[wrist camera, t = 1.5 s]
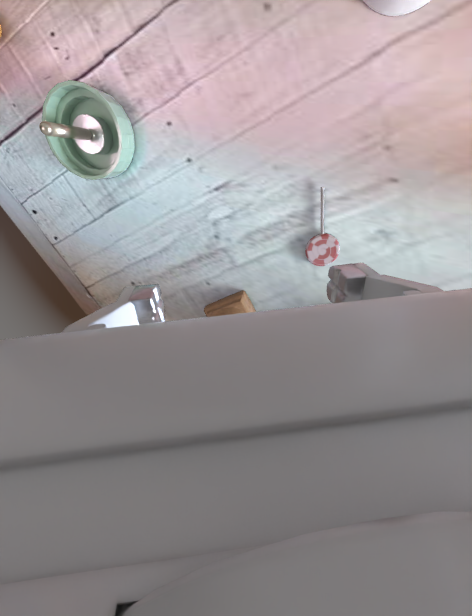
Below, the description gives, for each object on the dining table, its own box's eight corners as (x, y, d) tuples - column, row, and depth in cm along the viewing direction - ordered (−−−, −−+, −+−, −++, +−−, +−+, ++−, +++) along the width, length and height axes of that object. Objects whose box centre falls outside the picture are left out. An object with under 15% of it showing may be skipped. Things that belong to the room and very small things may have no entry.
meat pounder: (80, 113, 49) (17, 98, 37) (112, 119, 48) (58, 105, 37) (85, 151, 52) (27, 148, 40) (114, 157, 51) (65, 155, 40)
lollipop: (342, 184, 47) (339, 264, 54) (341, 184, 48) (338, 263, 55) (304, 190, 49) (306, 267, 56) (303, 189, 50) (305, 266, 56)
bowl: (56, 82, 47) (33, 74, 43) (133, 95, 46) (118, 88, 42) (69, 171, 54) (51, 172, 50) (136, 183, 53) (124, 185, 49)
